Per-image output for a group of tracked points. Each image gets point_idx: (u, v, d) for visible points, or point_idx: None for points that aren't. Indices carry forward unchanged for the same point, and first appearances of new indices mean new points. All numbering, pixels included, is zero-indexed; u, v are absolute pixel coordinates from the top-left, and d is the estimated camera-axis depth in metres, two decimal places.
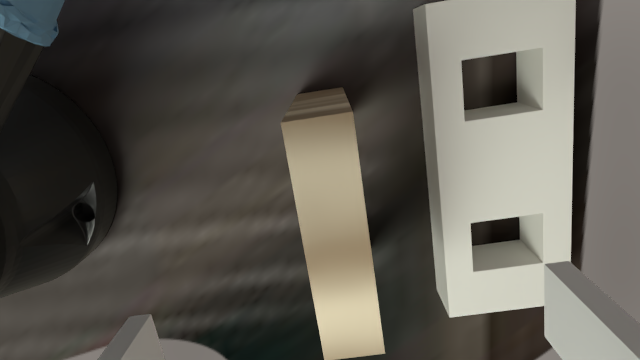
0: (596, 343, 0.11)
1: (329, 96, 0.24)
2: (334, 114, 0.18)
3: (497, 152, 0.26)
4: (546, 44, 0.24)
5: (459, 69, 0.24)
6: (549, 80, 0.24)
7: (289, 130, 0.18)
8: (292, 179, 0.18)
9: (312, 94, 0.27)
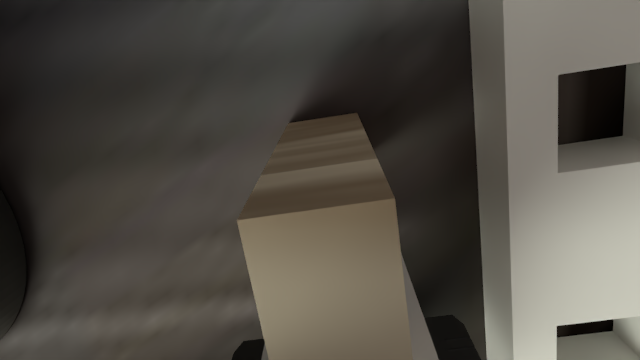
0: None
1: (338, 134, 0.15)
2: (354, 202, 0.08)
3: (607, 220, 0.16)
4: None
5: (553, 89, 0.15)
6: None
7: (256, 236, 0.08)
8: (265, 331, 0.09)
9: (310, 126, 0.17)
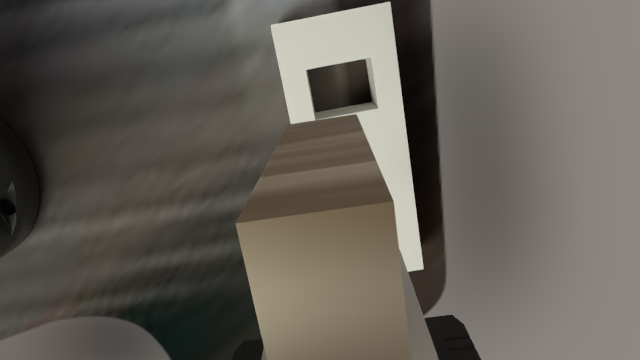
0: None
1: (337, 136, 0.14)
2: (353, 206, 0.08)
3: None
4: (373, 54, 0.29)
5: (305, 77, 0.29)
6: (379, 84, 0.30)
7: (255, 239, 0.08)
8: (263, 334, 0.09)
9: (310, 127, 0.17)
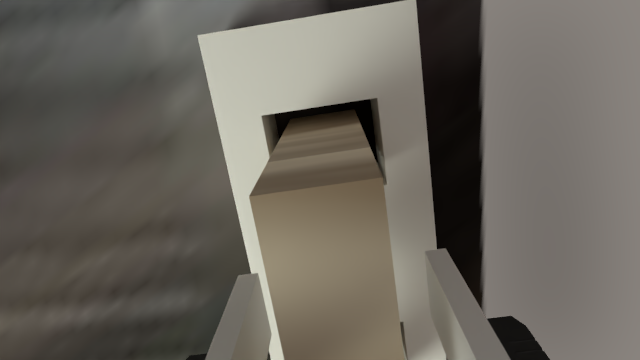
0: (446, 316, 0.13)
1: (336, 128, 0.16)
2: (348, 181, 0.10)
3: None
4: (382, 93, 0.16)
5: (260, 128, 0.17)
6: (391, 144, 0.17)
7: (265, 210, 0.10)
8: (272, 293, 0.10)
9: (311, 121, 0.18)
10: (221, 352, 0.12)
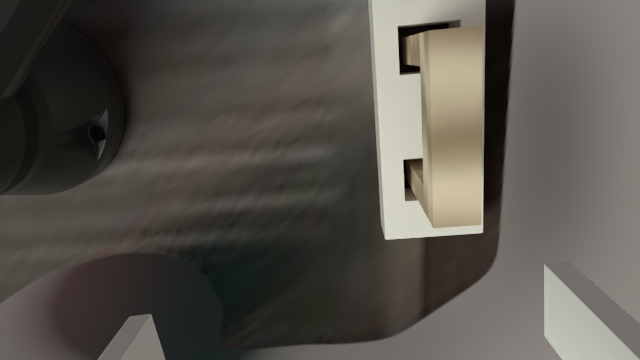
0: (596, 343, 0.11)
1: None
2: (469, 26, 0.24)
3: None
4: (463, 17, 0.31)
5: (396, 33, 0.31)
6: None
7: (434, 36, 0.24)
8: (431, 75, 0.25)
9: None
10: None
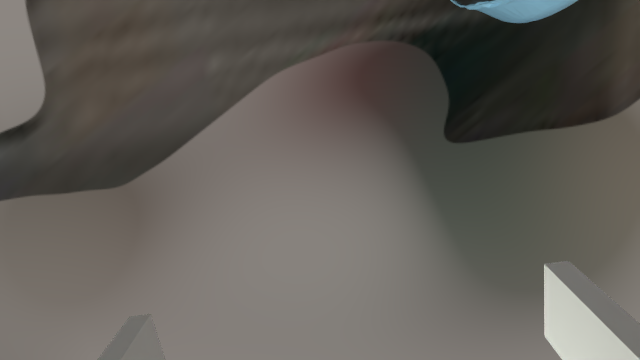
0: (596, 343, 0.11)
1: None
2: None
3: None
4: None
5: None
6: None
7: None
8: None
9: None
10: None
